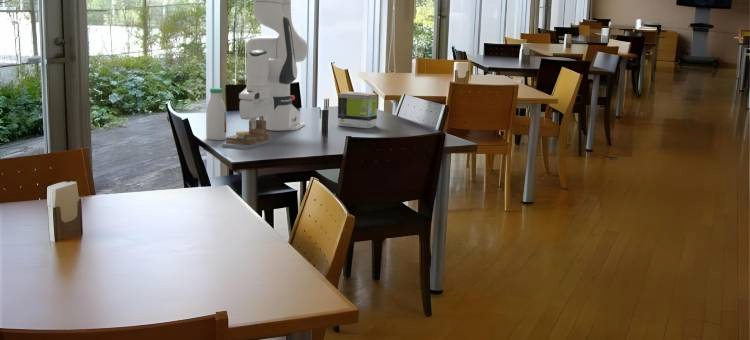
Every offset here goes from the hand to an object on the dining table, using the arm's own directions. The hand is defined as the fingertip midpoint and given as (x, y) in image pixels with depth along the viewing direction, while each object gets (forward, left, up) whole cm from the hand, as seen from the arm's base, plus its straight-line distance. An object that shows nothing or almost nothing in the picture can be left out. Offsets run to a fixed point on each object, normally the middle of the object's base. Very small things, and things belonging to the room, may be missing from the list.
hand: (257, 128), depth 334 cm
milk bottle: (+5, -16, -6) cm, 18 cm away
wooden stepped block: (+7, 0, -4) cm, 8 cm away
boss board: (+7, 0, -5) cm, 9 cm away
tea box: (-56, +17, -6) cm, 59 cm away
